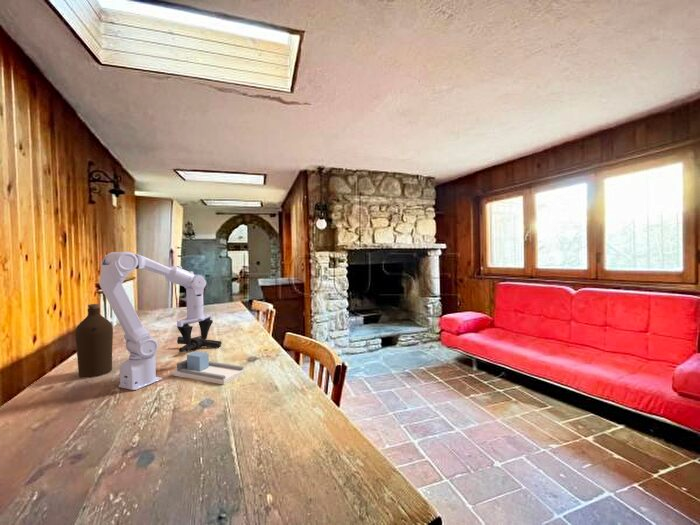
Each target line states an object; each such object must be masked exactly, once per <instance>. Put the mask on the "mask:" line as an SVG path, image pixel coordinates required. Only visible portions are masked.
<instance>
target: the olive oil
mask: <svg viewBox="0 0 700 525" xmlns="http://www.w3.org/2000/svg"><path fill="white" fill-rule="evenodd" d="M87 307H88V308H87V316H85V318H84V319H83V320H81V322H80V323H79V324H78V325H77V326H76V328H75V331H74V338H75V348H76V356H77V367H78V368H77V370H78V371H77V373H78V377H79V378H82V377H89V378H95V376H96V377H100V376H104V375H107V374H109V373H110V372H112V371H113V340H114V339H113V338H114V337H113V336H114V329H113V328H114V327H113V324H112V323H111V321H110V320H108V319H107V318H105V317H104V316H103V315H102V314H101V307H100V303H90V304H88V305H87ZM103 374H104V375H103Z"/></svg>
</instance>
